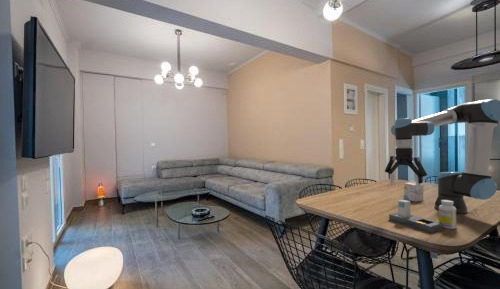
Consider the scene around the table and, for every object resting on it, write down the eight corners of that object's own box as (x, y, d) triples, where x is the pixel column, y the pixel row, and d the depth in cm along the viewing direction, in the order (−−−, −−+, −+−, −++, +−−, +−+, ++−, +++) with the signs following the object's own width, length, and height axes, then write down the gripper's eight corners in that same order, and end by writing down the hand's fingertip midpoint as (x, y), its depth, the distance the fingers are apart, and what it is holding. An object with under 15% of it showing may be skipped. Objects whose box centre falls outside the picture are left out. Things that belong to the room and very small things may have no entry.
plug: (402, 219, 125) (402, 199, 125) (410, 221, 122) (410, 201, 122) (397, 221, 123) (397, 200, 123) (404, 223, 120) (404, 202, 120)
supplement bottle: (448, 224, 118) (447, 199, 118) (460, 229, 111) (460, 202, 111) (435, 224, 118) (435, 199, 117) (446, 229, 111) (446, 203, 111)
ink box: (403, 198, 167) (403, 180, 167) (411, 197, 170) (411, 179, 170) (415, 201, 159) (414, 182, 159) (423, 200, 162) (423, 181, 161)
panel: (400, 216, 129) (400, 211, 129) (442, 229, 111) (442, 222, 111) (389, 219, 125) (389, 214, 125) (430, 233, 107) (430, 226, 107)
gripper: (377, 147, 132) (378, 184, 132) (426, 148, 109) (427, 192, 110) (385, 146, 135) (386, 182, 135) (434, 147, 112) (435, 190, 113)
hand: (404, 187), depth 122 cm, fingers open, 13 cm apart
